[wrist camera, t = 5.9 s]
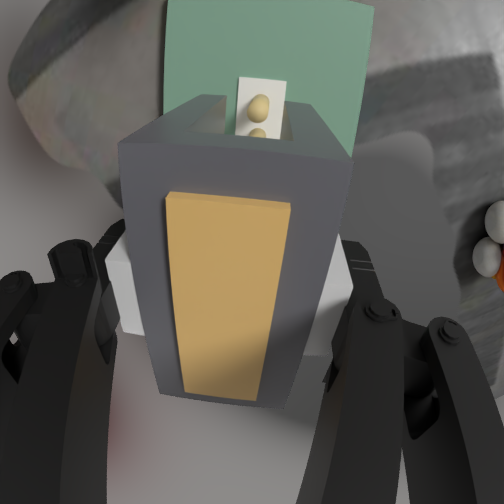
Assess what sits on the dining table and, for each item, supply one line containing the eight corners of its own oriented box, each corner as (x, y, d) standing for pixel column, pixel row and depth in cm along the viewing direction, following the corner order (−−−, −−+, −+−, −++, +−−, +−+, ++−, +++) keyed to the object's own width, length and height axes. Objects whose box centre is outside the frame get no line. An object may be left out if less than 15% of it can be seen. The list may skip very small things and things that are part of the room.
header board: (174, -9, 17) (145, -23, 12) (369, 8, 17) (396, -2, 12) (172, 243, 29) (154, 283, 25) (323, 259, 29) (331, 302, 25)
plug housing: (201, 94, 12) (110, 147, 5) (310, 104, 12) (358, 168, 5) (198, 265, 17) (158, 399, 11) (283, 275, 17) (283, 415, 11)
